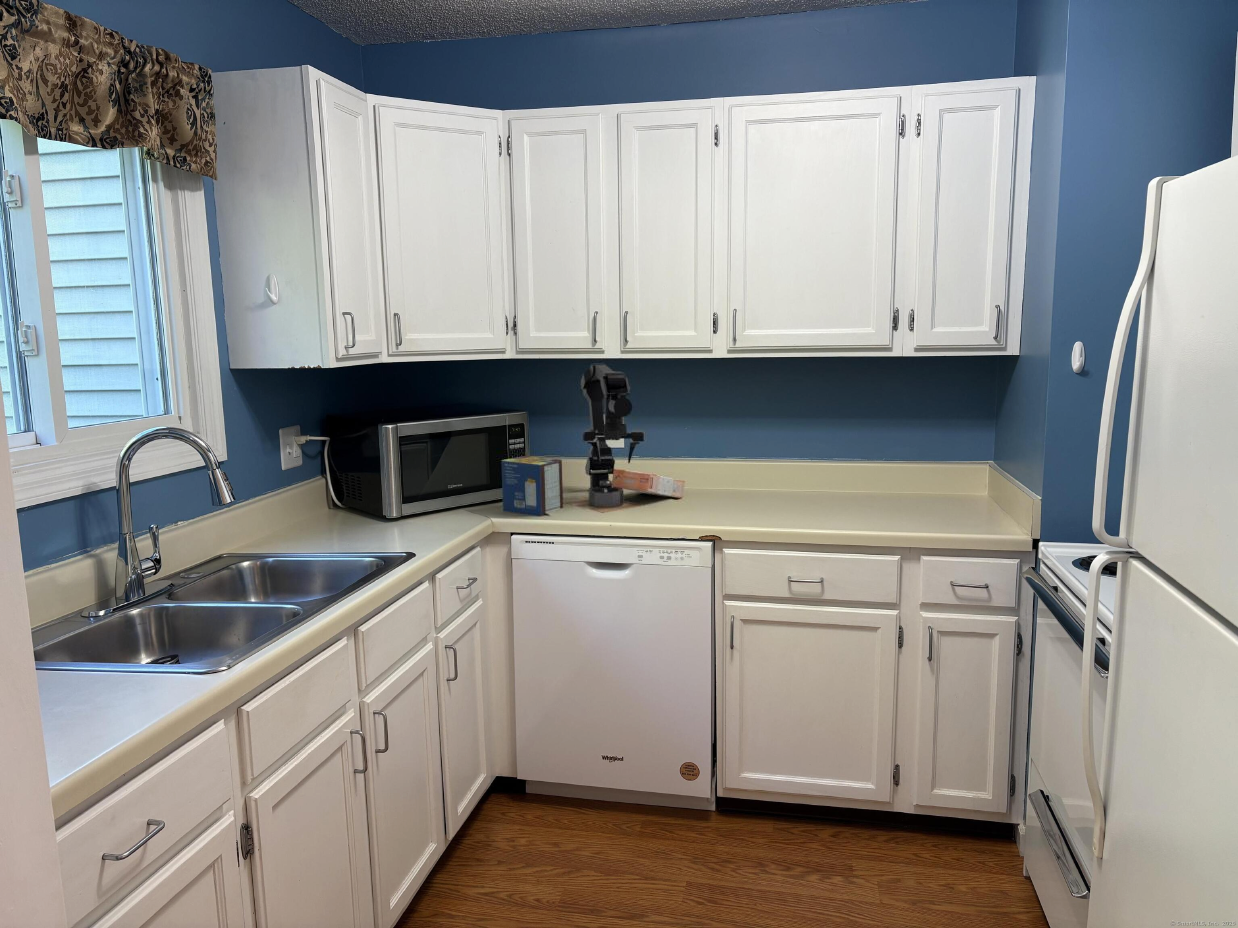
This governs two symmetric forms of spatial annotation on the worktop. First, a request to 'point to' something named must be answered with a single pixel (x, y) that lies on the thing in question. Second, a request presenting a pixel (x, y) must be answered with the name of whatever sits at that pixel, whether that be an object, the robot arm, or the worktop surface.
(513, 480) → the protein box
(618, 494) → the gray faceted ring
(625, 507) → the board
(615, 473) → the cracker box
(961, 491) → the worktop surface
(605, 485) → the plunger
